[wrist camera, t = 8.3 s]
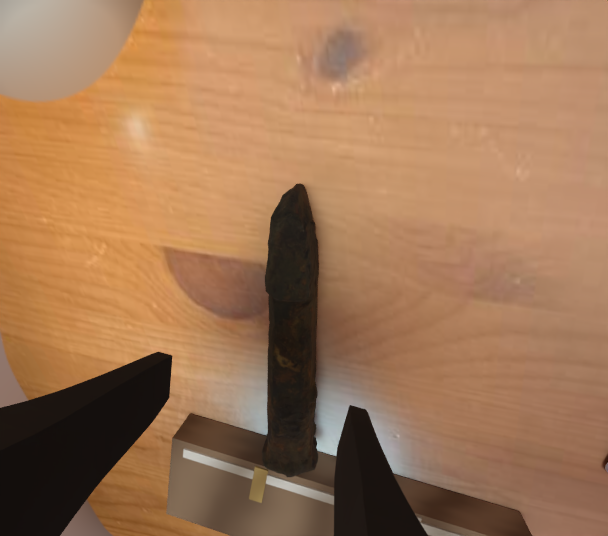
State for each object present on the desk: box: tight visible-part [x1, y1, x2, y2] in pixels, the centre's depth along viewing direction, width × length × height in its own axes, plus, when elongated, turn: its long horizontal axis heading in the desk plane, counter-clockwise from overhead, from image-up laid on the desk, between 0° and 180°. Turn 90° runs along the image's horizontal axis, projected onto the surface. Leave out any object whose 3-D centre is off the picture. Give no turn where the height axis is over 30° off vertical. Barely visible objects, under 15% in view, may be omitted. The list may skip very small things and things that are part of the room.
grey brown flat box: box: [166, 414, 532, 536], centre depth 23 cm, size 26×8×3 cm, turn 78°
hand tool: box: [262, 184, 319, 477], centre depth 19 cm, size 19×4×5 cm, turn 175°
